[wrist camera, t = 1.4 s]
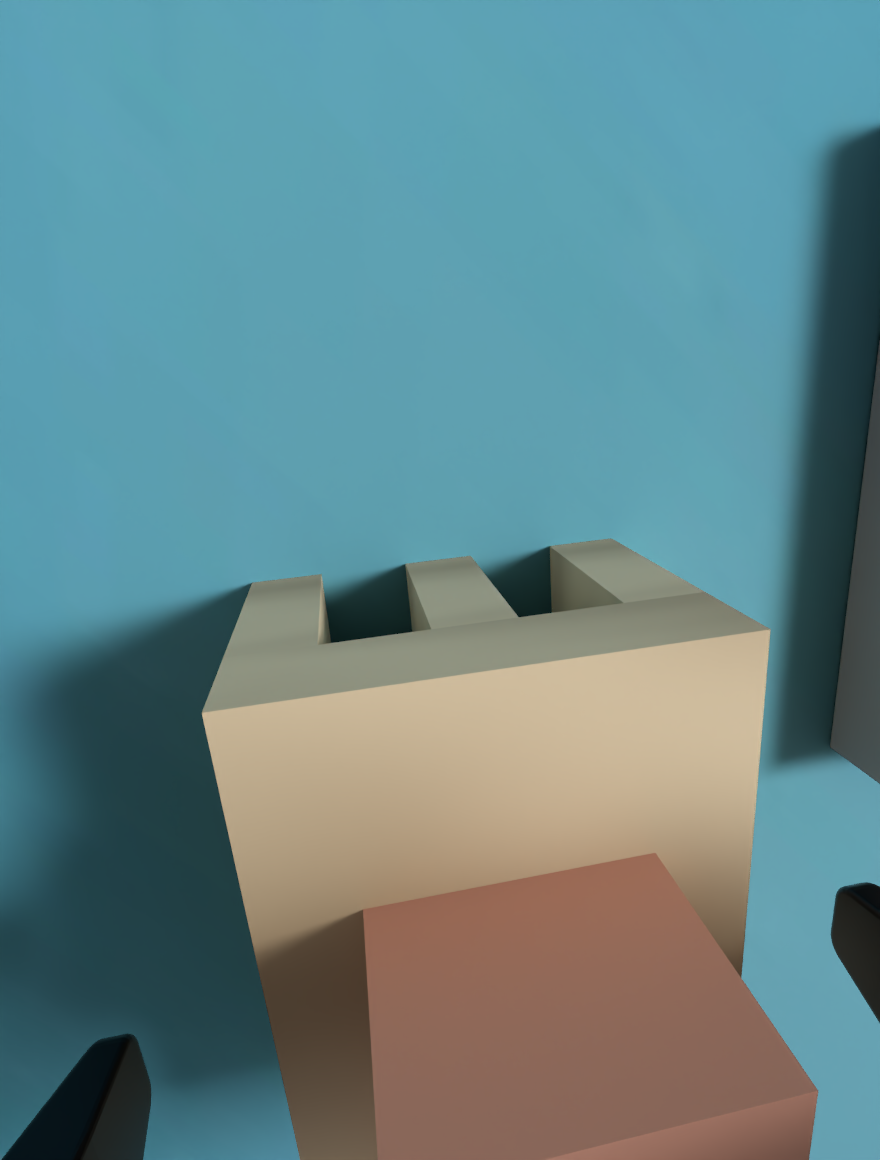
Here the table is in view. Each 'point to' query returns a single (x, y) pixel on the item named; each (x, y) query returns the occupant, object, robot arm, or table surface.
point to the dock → (863, 622)
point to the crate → (572, 1028)
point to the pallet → (470, 775)
